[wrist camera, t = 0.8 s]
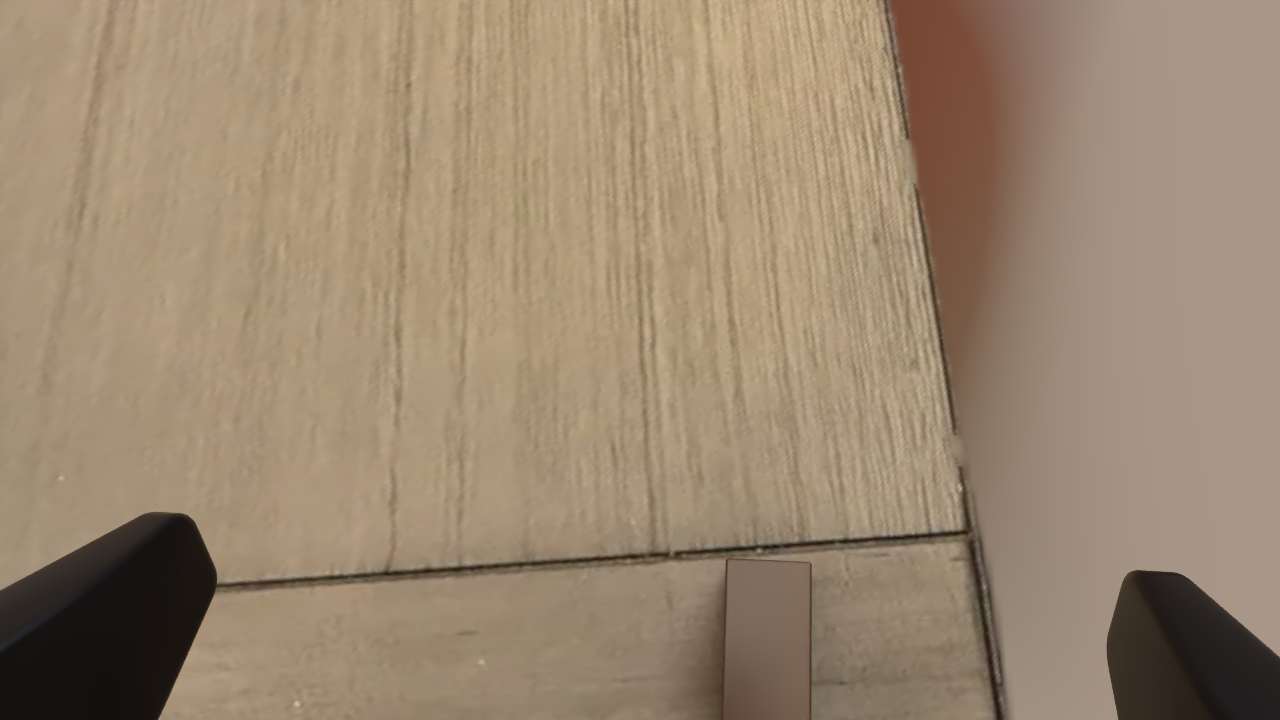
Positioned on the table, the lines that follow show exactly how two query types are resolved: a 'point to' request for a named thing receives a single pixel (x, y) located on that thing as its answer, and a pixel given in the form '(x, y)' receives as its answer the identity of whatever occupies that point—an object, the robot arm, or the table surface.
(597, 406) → the table surface
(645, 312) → the table surface
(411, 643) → the table surface
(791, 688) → the tall brown square pillar
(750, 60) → the table surface
